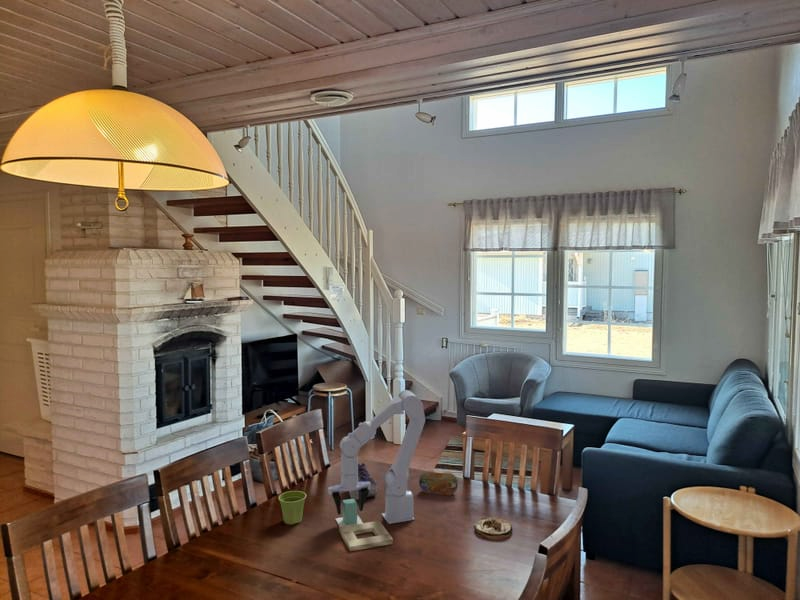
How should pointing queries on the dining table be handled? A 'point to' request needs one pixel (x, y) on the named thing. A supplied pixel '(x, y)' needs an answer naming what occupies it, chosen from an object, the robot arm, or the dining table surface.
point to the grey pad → (341, 523)
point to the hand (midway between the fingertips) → (349, 511)
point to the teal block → (350, 511)
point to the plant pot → (292, 506)
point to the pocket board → (369, 542)
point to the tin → (438, 482)
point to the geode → (364, 477)
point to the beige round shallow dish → (493, 528)
